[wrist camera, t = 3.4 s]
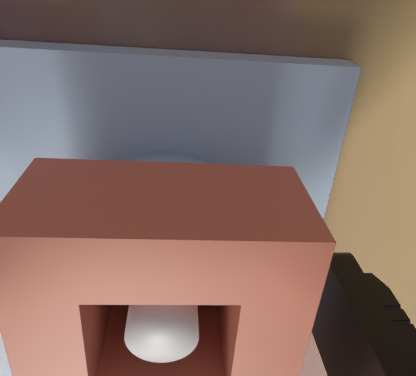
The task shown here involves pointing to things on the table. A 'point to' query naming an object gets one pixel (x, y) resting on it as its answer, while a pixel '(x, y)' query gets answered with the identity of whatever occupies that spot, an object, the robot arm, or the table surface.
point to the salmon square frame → (159, 265)
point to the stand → (172, 127)
